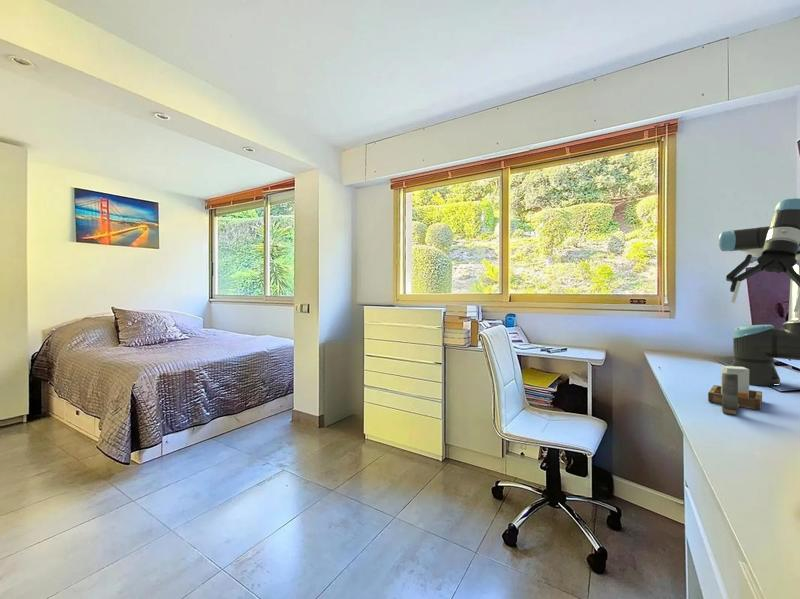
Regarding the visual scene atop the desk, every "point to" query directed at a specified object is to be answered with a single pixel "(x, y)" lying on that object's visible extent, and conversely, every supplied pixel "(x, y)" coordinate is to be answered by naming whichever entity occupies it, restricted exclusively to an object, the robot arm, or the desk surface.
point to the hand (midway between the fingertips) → (763, 305)
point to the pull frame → (733, 395)
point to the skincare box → (742, 379)
